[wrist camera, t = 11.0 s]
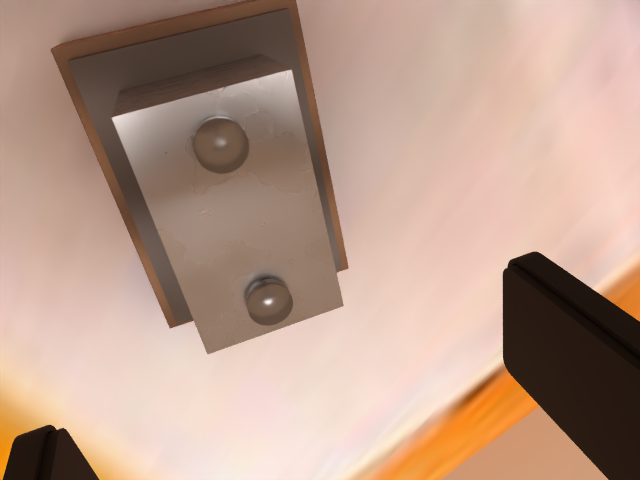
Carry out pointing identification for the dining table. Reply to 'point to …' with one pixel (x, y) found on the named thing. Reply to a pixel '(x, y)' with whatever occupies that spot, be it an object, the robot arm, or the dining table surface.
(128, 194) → the stand
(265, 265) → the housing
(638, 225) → the dining table surface
